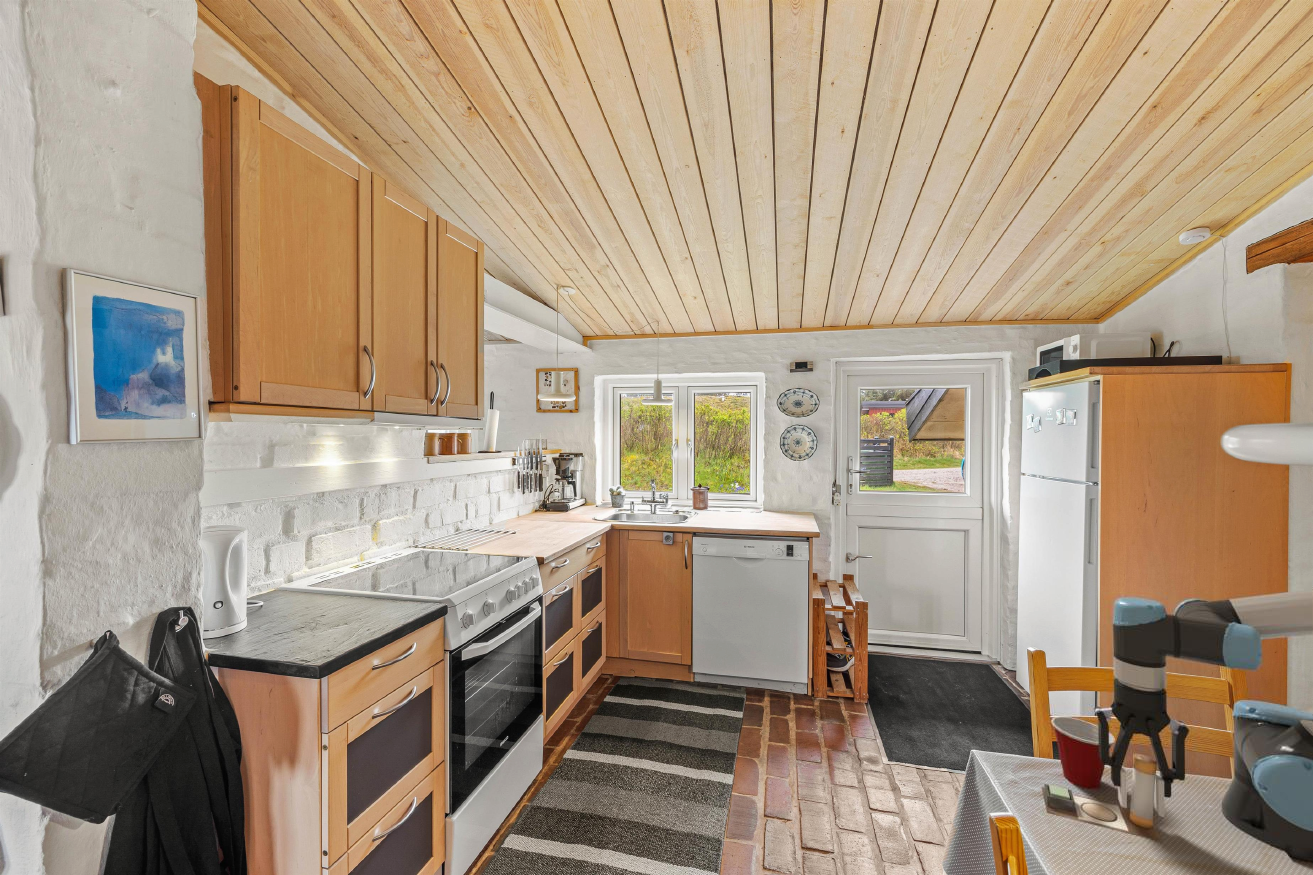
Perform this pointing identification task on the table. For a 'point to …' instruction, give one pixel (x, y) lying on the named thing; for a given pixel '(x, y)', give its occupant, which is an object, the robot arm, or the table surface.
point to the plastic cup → (1079, 751)
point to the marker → (1143, 791)
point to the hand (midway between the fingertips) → (1140, 807)
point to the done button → (1059, 792)
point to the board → (1096, 813)
